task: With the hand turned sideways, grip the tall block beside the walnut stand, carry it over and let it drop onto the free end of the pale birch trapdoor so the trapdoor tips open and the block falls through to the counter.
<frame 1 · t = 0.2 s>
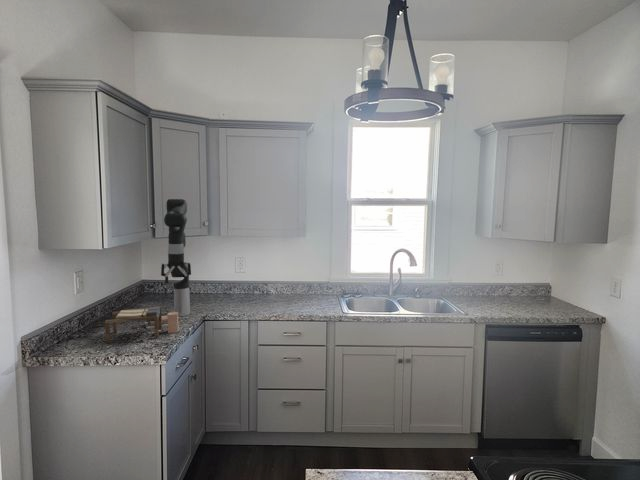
hand: (176, 283, 188), 29 cm above the counter, tool pointing down, fingers open, 8 cm apart
block: (173, 331, 200), on the counter
trapdoor: (138, 314, 193), point 11 cm above the counter, hinge at 0.0°
trapdoor frame: (134, 335, 193), on the counter
packaged product: (162, 325, 213), on the counter
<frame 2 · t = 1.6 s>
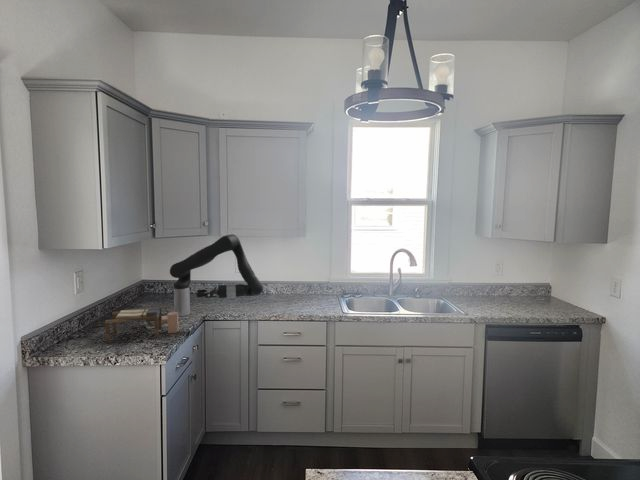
hand: (196, 293, 202), 20 cm above the counter, tool horizontal, fingers open, 8 cm apart
nothing on the counter moved.
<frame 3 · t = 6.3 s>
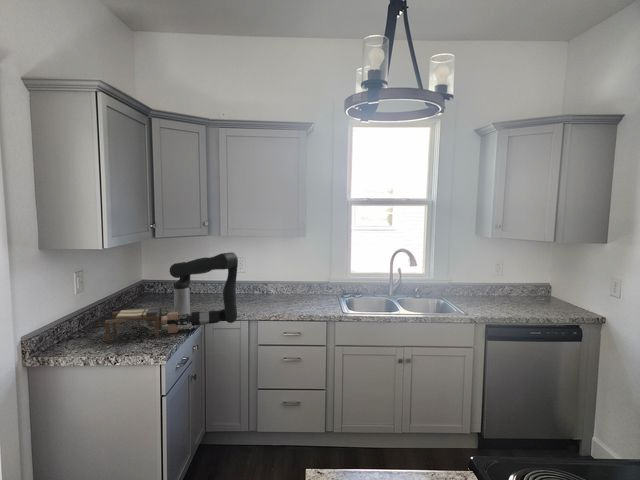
hand: (167, 320, 198), 6 cm above the counter, tool horizontal, fingers closed on block, 5 cm apart
block: (173, 331, 200), on the counter, touching gripper
when the fingers open (20 cm above the counter, at t = 11.4 s): block drops 4 cm, resting on trapdoor.
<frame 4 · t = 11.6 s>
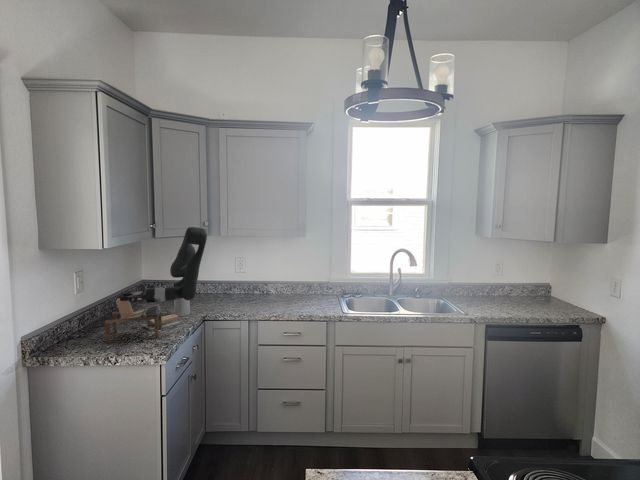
hand: (121, 297, 190), 21 cm above the counter, tool horizontal, fingers open, 6 cm apart
block: (128, 316, 191), point 11 cm above the counter, tilted 14°, touching trapdoor
trapdoor: (139, 315, 193), point 10 cm above the counter, hinge at -13.5°, touching block
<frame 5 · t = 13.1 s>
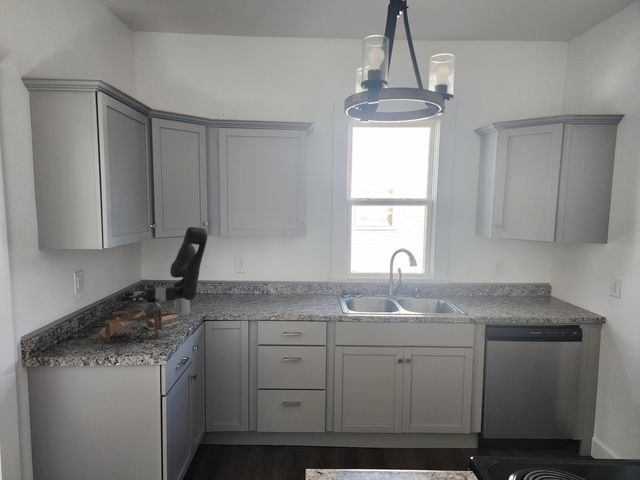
hand: (123, 297, 190), 21 cm above the counter, tool horizontal, fingers open, 8 cm apart
block: (120, 321, 190), point 8 cm above the counter, tilted 129°, touching trapdoor
trapdoor: (141, 316, 193), point 10 cm above the counter, hinge at -33.1°, touching block
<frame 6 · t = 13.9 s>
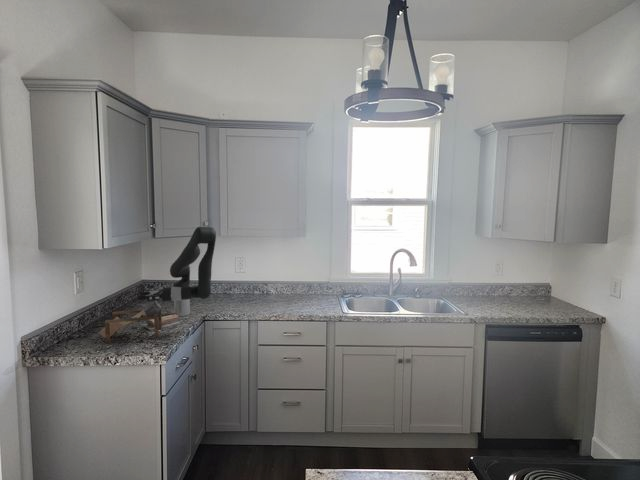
hand: (139, 296, 192), 21 cm above the counter, tool horizontal, fingers open, 8 cm apart
block: (119, 320, 190), point 9 cm above the counter, tilted 133°
trapdoor: (140, 316, 193), point 10 cm above the counter, hinge at -30.8°
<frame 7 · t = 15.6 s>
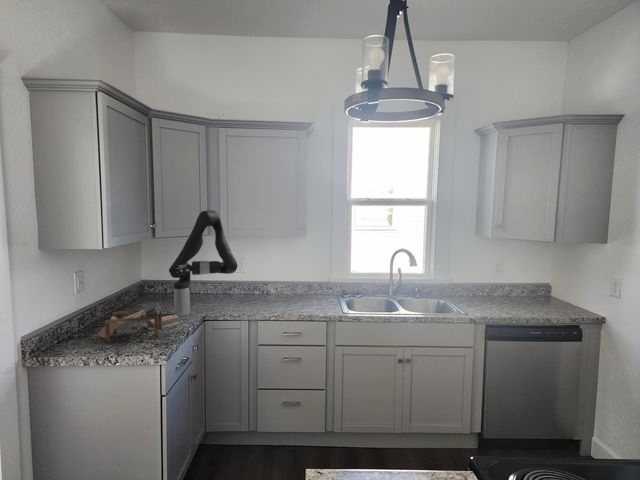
hand: (169, 269, 199), 34 cm above the counter, tool horizontal, fingers open, 8 cm apart
block: (116, 319, 190), point 9 cm above the counter, tilted 143°
trapdoor: (140, 316, 193), point 10 cm above the counter, hinge at -20.8°
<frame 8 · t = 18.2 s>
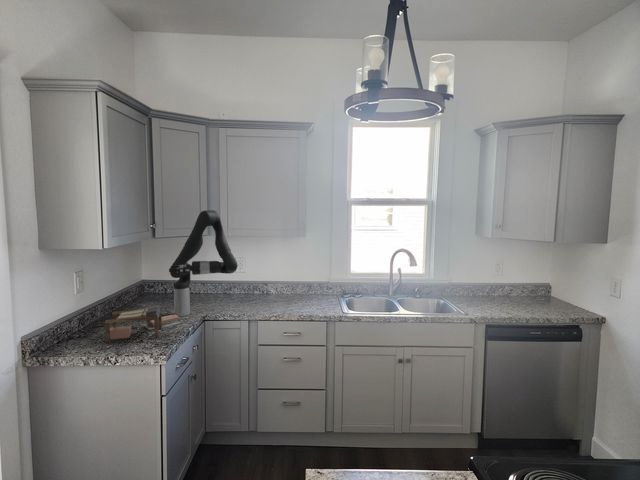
hand: (169, 269, 199), 34 cm above the counter, tool horizontal, fingers open, 8 cm apart
block: (130, 331, 192), point 2 cm above the counter, tilted 90°
trapdoor: (139, 315, 193), point 11 cm above the counter, hinge at -6.2°
at the end: block point 2.3 cm above the counter; block inside the target area (4.9 cm from its centre), point 2.3 cm above the counter; the gripper is holding nothing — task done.
